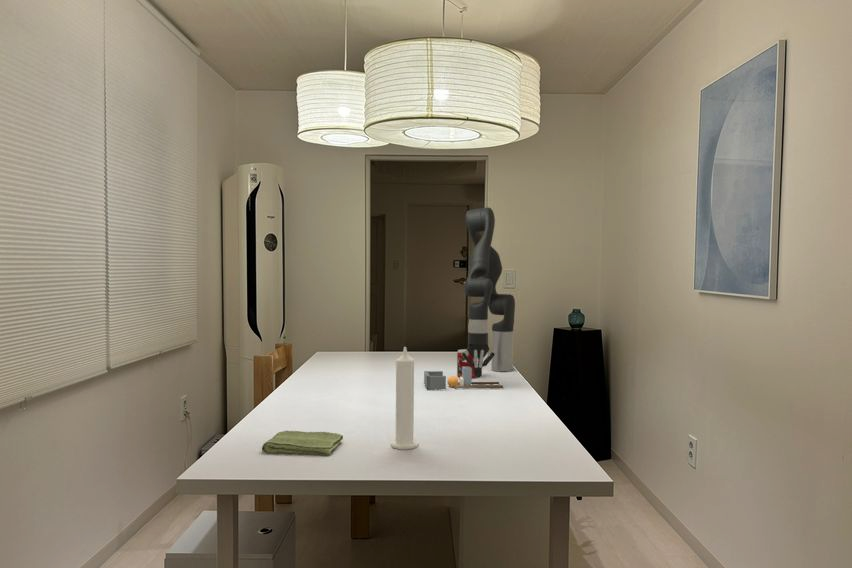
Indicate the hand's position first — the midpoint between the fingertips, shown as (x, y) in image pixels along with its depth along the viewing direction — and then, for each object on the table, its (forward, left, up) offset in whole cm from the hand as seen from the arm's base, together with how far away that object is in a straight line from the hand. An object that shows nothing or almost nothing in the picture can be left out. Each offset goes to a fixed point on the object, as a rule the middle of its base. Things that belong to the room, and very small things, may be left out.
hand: (477, 377), depth 225 cm
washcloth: (+71, -56, -4) cm, 91 cm away
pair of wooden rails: (0, 0, -4) cm, 4 cm away
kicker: (0, -4, -4) cm, 5 cm away
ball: (0, -9, -2) cm, 10 cm away
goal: (0, -16, -4) cm, 16 cm away
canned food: (-19, -1, -4) cm, 20 cm away
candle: (+72, -31, -4) cm, 78 cm away
